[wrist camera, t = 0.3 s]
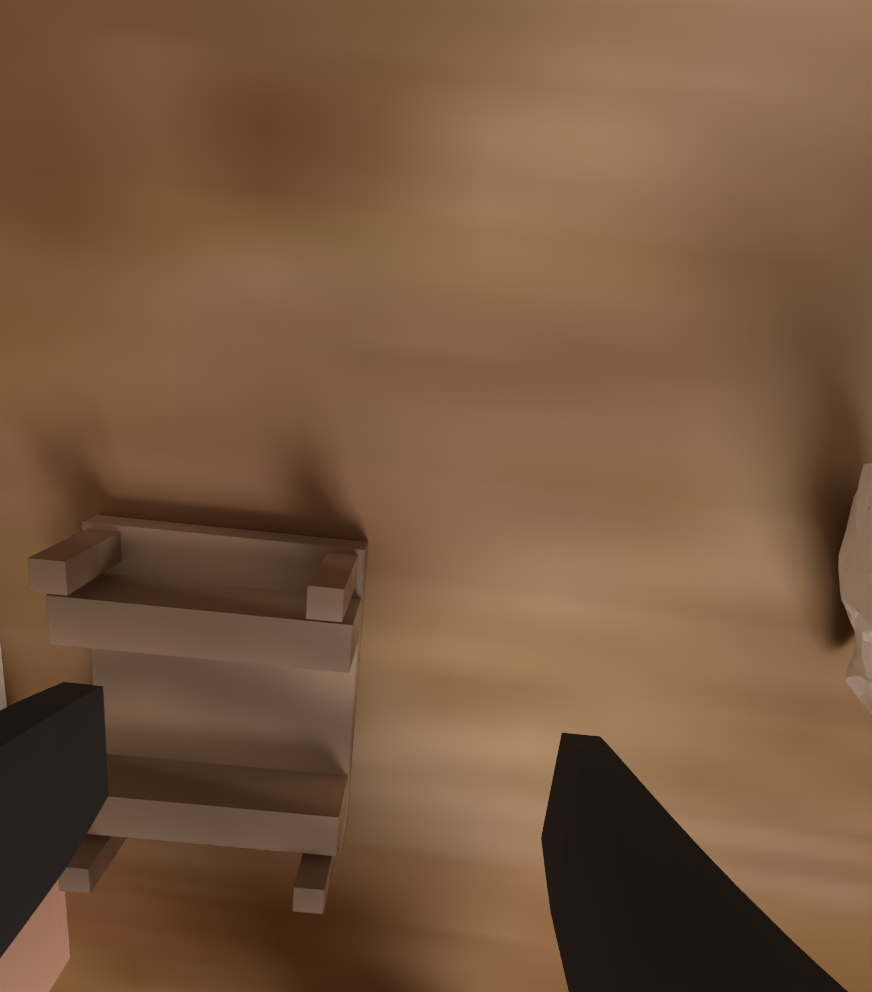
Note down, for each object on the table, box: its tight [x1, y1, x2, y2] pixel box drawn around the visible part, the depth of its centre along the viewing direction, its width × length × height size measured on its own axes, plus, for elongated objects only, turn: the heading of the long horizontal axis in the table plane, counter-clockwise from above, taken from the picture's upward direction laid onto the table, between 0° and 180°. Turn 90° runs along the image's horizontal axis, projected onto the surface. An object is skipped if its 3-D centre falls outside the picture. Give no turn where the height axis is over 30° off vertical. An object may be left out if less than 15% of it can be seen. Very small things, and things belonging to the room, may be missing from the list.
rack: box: [28, 515, 368, 914], centre depth 18 cm, size 12×9×3 cm
